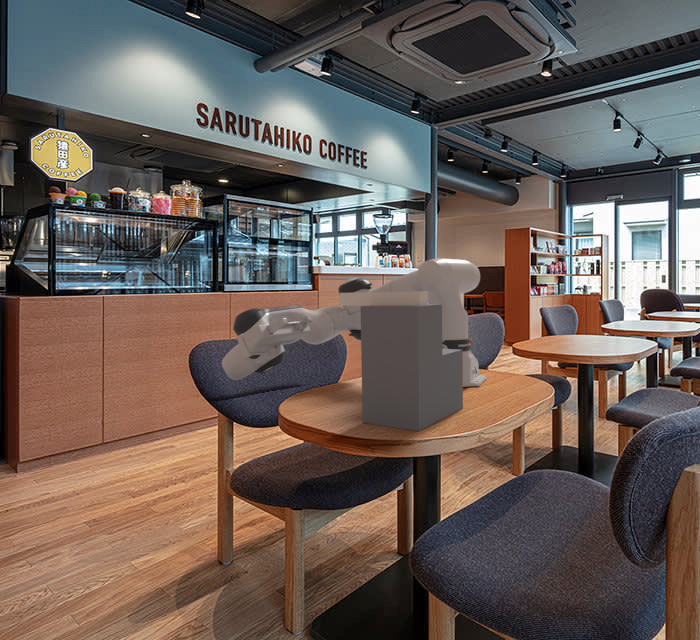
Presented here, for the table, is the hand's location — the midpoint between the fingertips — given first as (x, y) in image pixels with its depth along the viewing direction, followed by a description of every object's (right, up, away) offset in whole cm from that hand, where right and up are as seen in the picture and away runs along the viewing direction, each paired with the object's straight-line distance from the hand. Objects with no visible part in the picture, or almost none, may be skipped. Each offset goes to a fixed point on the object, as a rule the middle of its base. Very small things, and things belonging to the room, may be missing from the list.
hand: (297, 319), depth 130 cm
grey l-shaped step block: (+29, -23, -11) cm, 38 cm away
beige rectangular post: (+21, +3, -14) cm, 25 cm away
